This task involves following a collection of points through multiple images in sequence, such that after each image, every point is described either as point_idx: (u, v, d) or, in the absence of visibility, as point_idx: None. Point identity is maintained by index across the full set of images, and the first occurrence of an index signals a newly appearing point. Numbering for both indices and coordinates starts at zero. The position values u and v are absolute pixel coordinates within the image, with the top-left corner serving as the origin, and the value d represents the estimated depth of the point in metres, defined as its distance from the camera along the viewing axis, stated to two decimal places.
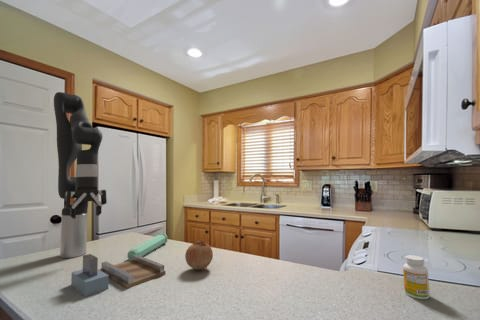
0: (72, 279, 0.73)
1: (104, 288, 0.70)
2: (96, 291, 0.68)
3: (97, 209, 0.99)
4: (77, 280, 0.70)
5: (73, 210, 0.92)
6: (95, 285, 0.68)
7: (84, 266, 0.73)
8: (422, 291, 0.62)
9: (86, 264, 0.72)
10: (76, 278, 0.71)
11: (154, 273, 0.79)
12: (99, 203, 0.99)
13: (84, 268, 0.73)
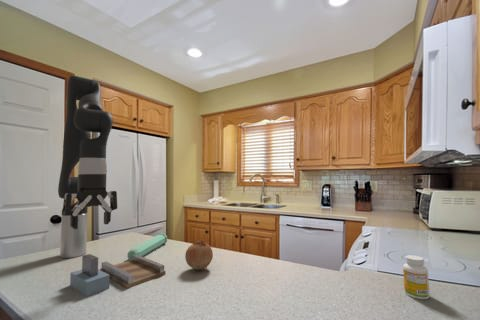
0: (71, 279, 0.73)
1: (105, 288, 0.70)
2: (97, 291, 0.68)
3: (105, 216, 0.76)
4: (78, 280, 0.70)
5: (74, 218, 0.70)
6: (96, 285, 0.68)
7: (84, 266, 0.73)
8: (422, 291, 0.62)
9: (86, 264, 0.72)
10: (76, 279, 0.71)
11: (154, 273, 0.79)
12: (108, 208, 0.76)
13: (84, 268, 0.73)
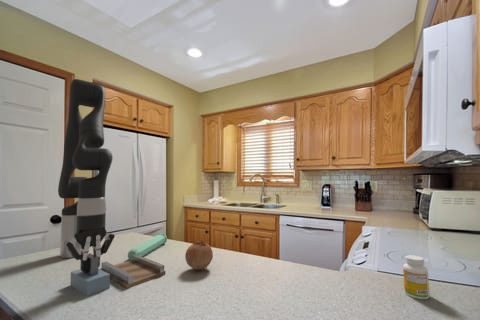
0: (72, 278, 0.73)
1: (105, 287, 0.70)
2: (98, 290, 0.69)
3: None
4: (78, 279, 0.70)
5: (84, 262, 0.71)
6: (97, 284, 0.68)
7: None
8: (422, 291, 0.62)
9: None
10: (76, 278, 0.71)
11: (154, 273, 0.79)
12: (97, 253, 0.73)
13: None
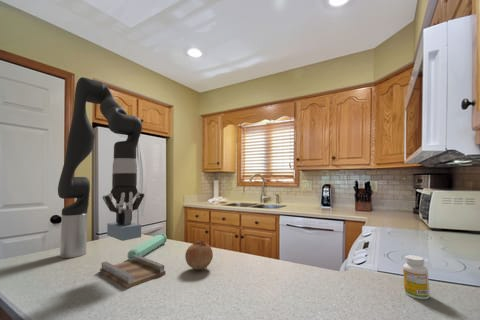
0: (108, 229, 0.82)
1: (137, 235, 0.78)
2: (131, 237, 0.77)
3: None
4: (114, 228, 0.79)
5: (120, 215, 0.79)
6: (130, 232, 0.76)
7: None
8: (422, 291, 0.62)
9: None
10: (112, 227, 0.80)
11: (154, 273, 0.79)
12: None
13: None
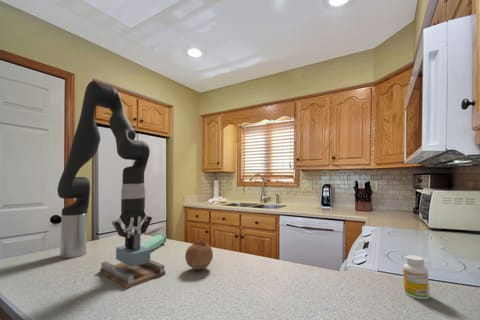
0: (117, 253, 0.83)
1: (147, 260, 0.80)
2: (141, 262, 0.78)
3: None
4: (123, 253, 0.80)
5: (129, 239, 0.81)
6: (140, 257, 0.78)
7: None
8: (422, 291, 0.62)
9: None
10: (122, 252, 0.81)
11: (154, 273, 0.79)
12: (138, 232, 0.83)
13: None
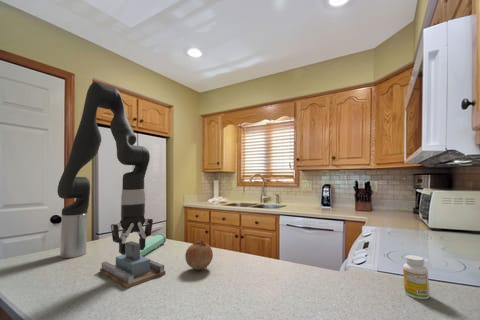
0: (117, 262, 0.83)
1: (146, 270, 0.80)
2: (140, 272, 0.78)
3: (141, 242, 0.85)
4: (123, 263, 0.80)
5: (123, 245, 0.80)
6: (139, 267, 0.78)
7: (127, 251, 0.83)
8: (422, 291, 0.62)
9: (130, 250, 0.82)
10: (121, 262, 0.81)
11: (154, 273, 0.79)
12: (143, 236, 0.85)
13: (127, 253, 0.83)
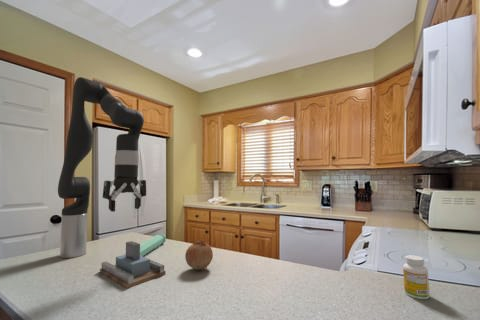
0: (117, 262, 0.83)
1: (146, 270, 0.80)
2: (140, 272, 0.78)
3: (136, 201, 0.88)
4: (123, 263, 0.80)
5: (112, 202, 0.81)
6: (139, 267, 0.78)
7: (127, 251, 0.83)
8: (422, 291, 0.62)
9: (130, 250, 0.82)
10: (121, 262, 0.81)
11: (154, 273, 0.79)
12: (139, 195, 0.88)
13: (127, 253, 0.83)
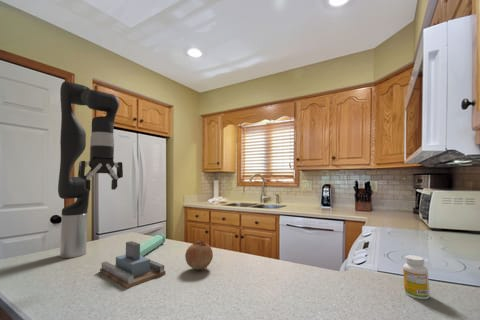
0: (117, 262, 0.83)
1: (146, 270, 0.80)
2: (140, 272, 0.78)
3: (113, 183, 0.90)
4: (123, 263, 0.80)
5: (87, 182, 0.83)
6: (139, 267, 0.78)
7: (127, 251, 0.83)
8: (422, 291, 0.62)
9: (130, 250, 0.82)
10: (121, 262, 0.81)
11: (154, 273, 0.79)
12: (115, 176, 0.90)
13: (127, 253, 0.83)
